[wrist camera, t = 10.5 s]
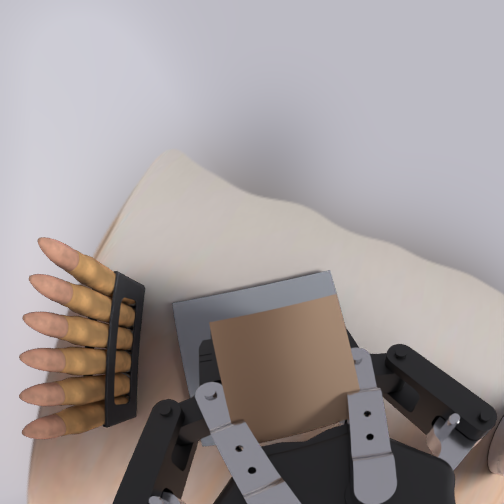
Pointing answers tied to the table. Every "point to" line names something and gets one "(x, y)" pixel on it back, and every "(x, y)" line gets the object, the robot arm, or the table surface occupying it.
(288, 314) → the walnut block
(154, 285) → the table surface
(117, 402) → the ammunition clip
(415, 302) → the table surface
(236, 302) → the slate mat
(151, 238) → the table surface
